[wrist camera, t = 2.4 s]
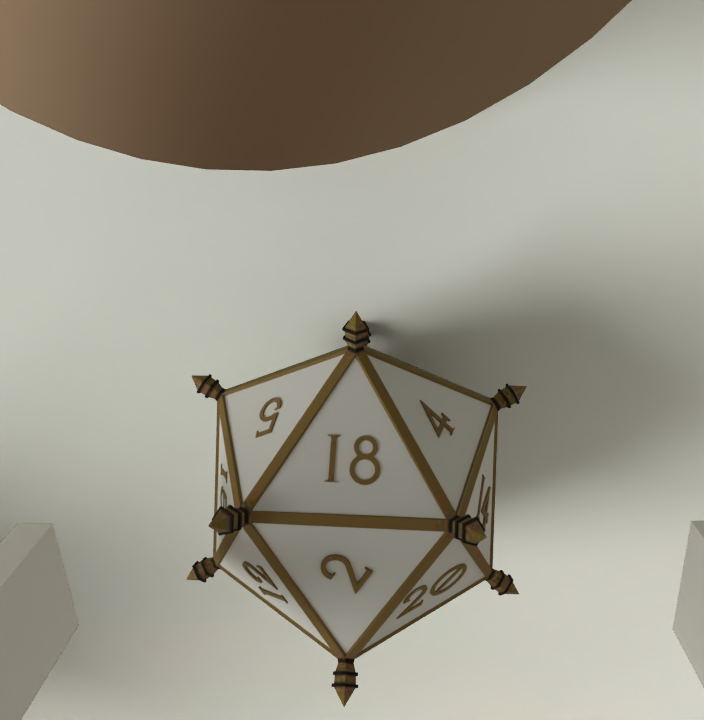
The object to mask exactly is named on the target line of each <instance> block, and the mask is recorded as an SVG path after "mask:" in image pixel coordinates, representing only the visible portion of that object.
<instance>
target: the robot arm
mask: <svg viewBox="0 0 704 720" xmlns="http://www.w3.org/2000/svg"><path fill="white" fill-rule="evenodd" d="M78 625H79V624H78V620H77V617H76V613H75V609H74V605H73V601H72V597H71V594H70V590H69V586H68V582H67V578H66V574H65V571H64V567H63V563H62V559H61V555H60V551H59V547H58V544H57V540H56V536H55V532H54V528H53V524H17V525H16V526H15V527H14V528H13V530H12V531H11V532H10V533H9V534H8V535H7V536H6V537H5V539H4V540H3V541H2V542H1V543H0V720H21V719H22V717H23V716H24V714H25V712H26V711H27V709H28V707H29V706H30V704H31V702H32V701H33V699H34V697H35V696H36V694H37V692H38V691H39V689H40V688H41V686H42V684H43V683H44V681H45V679H46V678H47V676H48V674H49V673H50V671H51V669H52V668H53V666H54V664H55V663H56V661H57V659H58V658H59V656H60V655H61V653H62V651H63V650H64V648H65V646H66V645H67V643H68V641H69V640H70V638H71V636H72V635H73V633H74V631H75V630H76V628H77V626H78ZM673 631H674V633H675V635H676V636H677V638H678V640H679V642H680V644H681V646H682V648H683V650H684V651H685V653H686V655H687V657H688V659H689V661H690V663H691V665H692V667H693V668H694V670H695V672H696V674H697V676H698V678H699V680H700V682H701V683H702V685H703V687H704V521H691V525H690V531H689V537H688V543H687V548H686V554H685V560H684V566H683V572H682V578H681V583H680V589H679V595H678V601H677V607H676V612H675V618H674V624H673Z"/></svg>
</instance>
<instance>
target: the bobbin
mask: <svg viewBox="0 0 704 720" xmlns="http://www.w3.org/2000/svg"><path fill="white" fill-rule="evenodd" d="M630 1H631V0H0V104H1V105H2V106H4V107H6V108H7V109H9V110H11V111H13V112H15V113H17V114H19V115H22V116H24V117H26V118H28V119H31V120H33V121H35V122H38V123H40V124H42V125H44V126H47V127H49V128H51V129H53V130H56V131H58V132H60V133H63V134H65V135H67V136H69V137H72V138H74V139H76V140H79V141H83V142H86V143H89V144H93V145H96V146H100V147H103V148H106V149H110V150H113V151H116V152H120V153H123V154H127V155H130V156H133V157H137V158H140V159H145V160H151V161H158V162H164V163H170V164H176V165H183V166H189V167H195V168H202V169H218V170H263V171H273V170H282V169H290V168H299V167H307V166H316V165H325V164H333V163H339V162H343V161H347V160H351V159H354V158H358V157H362V156H366V155H370V154H374V153H378V152H382V151H385V150H389V149H393V148H397V147H401V146H403V145H406V144H408V143H411V142H413V141H416V140H418V139H421V138H423V137H426V136H428V135H431V134H433V133H435V132H438V131H440V130H443V129H445V128H448V127H450V126H453V125H455V124H458V123H460V122H463V121H465V120H467V119H469V118H470V117H472V116H474V115H476V114H477V113H479V112H481V111H483V110H484V109H486V108H488V107H490V106H492V105H493V104H495V103H497V102H499V101H500V100H502V99H504V98H506V97H507V96H509V95H511V94H513V93H515V92H516V91H518V90H520V89H522V88H523V87H525V86H527V85H529V84H530V83H531V82H533V81H534V80H535V79H537V78H538V77H540V76H541V75H542V74H544V73H545V72H546V71H548V70H549V69H550V68H552V67H553V66H554V65H556V64H557V63H558V62H560V61H561V60H562V59H564V58H565V57H566V56H568V55H569V54H570V53H572V52H573V51H575V50H576V49H577V48H579V47H580V46H581V45H583V44H584V43H585V42H587V41H588V40H589V39H591V38H592V37H593V36H594V35H595V34H596V33H597V32H598V31H599V30H601V29H602V28H603V27H604V26H605V25H606V24H607V23H608V22H609V21H610V20H611V19H612V18H613V17H614V16H615V15H616V14H618V13H619V12H620V11H621V10H622V9H623V8H624V7H625V6H626V5H627V4H628V3H629V2H630Z"/></svg>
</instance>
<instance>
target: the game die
mask: <svg viewBox="0 0 704 720" xmlns="http://www.w3.org/2000/svg"><path fill="white" fill-rule="evenodd" d="M342 330H343V331H345V336H344V337H343V340H345V341H346V342H347V345H348V346H345V347H343V348H340V349H337V350H334V351H332V352H329V353H326V354H323V355H321V356H318V357H315V358H312V359H309V360H307V361H304V362H301V363H298V364H296V365H293V366H290V367H287V368H284V369H282V370H279V371H276V372H273V373H271V374H268V375H265V376H262V377H259V378H257V379H254V380H251V381H248V382H246V383H243V384H240V385H237V386H234V387H232V388H229V389H223V388H222V387H221V386H220V384H219V380H216V381H215V380H214V379H213V378H211V376H212V375H211V374H210V375H209V376H192V378H193V380H194V383H195V385H196V387H197V390H198V391H197V393H203V394H204V395H205V397H206V398H208V397H211V398H214V399H216V400H217V437H216V473H215V510H214V517H213V518H212V522H211V523H210V524H209V527H210V528H212V529H214V547H213V557H212V558H206V557H205V558H203V560H202V561H201V562H198V561H197V562H195V564H194V565H193V566H192V567H193V569H192V571H191V572H190V574H189V576H188V577H187V580H200V581H203V582H206V579H207V578H209V577H214V573H215V572H216V571H217V570H218V569H221V570H223V571H224V572H225V573H227V574H228V575H229V576H231V577H232V578H233V579H234V580H236V581H237V582H238V583H240V584H241V585H242V586H244V587H245V588H246V589H248V590H249V591H250V592H251V593H253V594H254V595H255V596H257V597H258V598H259V599H261V600H262V601H263V602H264V603H266V604H267V605H268V606H270V607H271V608H272V609H274V610H275V611H276V612H278V613H279V614H280V615H281V616H283V617H284V618H285V619H287V620H288V621H289V622H291V623H292V624H293V625H295V626H296V627H297V628H298V629H300V630H301V631H302V632H304V633H305V634H306V635H308V636H309V637H310V638H312V639H313V640H314V641H315V642H317V643H318V644H319V645H321V646H322V647H323V648H325V649H326V650H327V651H328V652H330V653H331V654H332V655H334V656H335V657H336V658H338V666H337V669H336V671H335V672H333V675H335V681H334V684H332V686H333V687H335V689H336V691H337V694H338V696H339V698H340V700H341V702H342V704H343V706H345V705H346V703H347V701H348V699H349V698H350V696H351V694H352V693H353V691H354V689H355V688H358V685H356V676H358V673H356V672H355V668H354V664H353V663H354V659H355V658H357V657H359V656H360V655H362V654H364V653H365V652H367V651H369V650H370V649H372V648H374V647H375V646H377V645H379V644H380V643H382V642H383V641H385V640H387V639H388V638H390V637H392V636H393V635H395V634H397V633H398V632H400V631H402V630H403V629H405V628H407V627H408V626H410V625H412V624H413V623H415V622H416V621H418V620H420V619H421V618H423V617H425V616H426V615H428V614H430V613H431V612H433V611H435V610H436V609H438V608H440V607H441V606H443V605H445V604H446V603H448V602H449V601H451V600H453V599H454V598H456V597H458V596H459V595H461V594H463V593H464V592H466V591H468V590H469V589H471V588H473V587H474V586H476V585H478V584H479V583H481V582H482V581H484V580H486V581H488V583H489V584H490V585H491V589H492V590H494V589H495V590H497V591H498V592H499V593H498V594H499V595H503V594H519V593H518V591H517V589H516V587H515V586H514V584H513V579H512V577H511V575H508V576H507V575H505V574H504V572H503V571H502V570H500V571H497V570H494V569H493V568H492V564H493V536H494V508H495V480H496V453H497V425H498V411H499V410H500V409H501V408H505V407H508V408H511V405H512V404H514V403H517V404H519V403H520V402H519V400H520V398H521V396H522V394H523V392H524V390H525V389H526V387H527V386H509V385H508V384H506V387H505V388H504V389H502V390H500V389H498V393H497V394H496V395H495V396H494V397H493V398H488V397H486V396H483V395H481V394H479V393H476V392H474V391H472V390H469V389H467V388H464V387H462V386H460V385H457V384H455V383H452V382H450V381H448V380H445V379H443V378H441V377H438V376H436V375H433V374H431V373H429V372H426V371H424V370H421V369H419V368H417V367H414V366H412V365H410V364H407V363H405V362H402V361H400V360H398V359H395V358H393V357H391V356H388V355H386V354H383V353H381V352H379V351H376V350H374V349H371V348H369V347H367V344H368V343H370V339H369V336H371V333H370V331H369V328H368V326H367V325H366V323H365V321H362V320H361V318H360V316H359V315H358V313H357V312H355V313H354V315H353V316H352V318H351V319H350V321H348V322H347V323H346V324H345V326H344V327H343V328H342Z"/></svg>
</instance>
